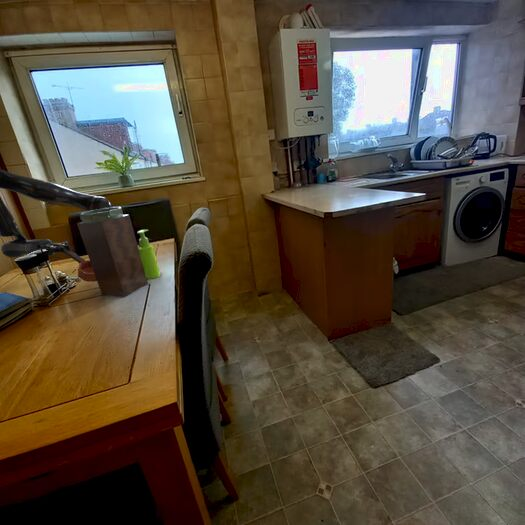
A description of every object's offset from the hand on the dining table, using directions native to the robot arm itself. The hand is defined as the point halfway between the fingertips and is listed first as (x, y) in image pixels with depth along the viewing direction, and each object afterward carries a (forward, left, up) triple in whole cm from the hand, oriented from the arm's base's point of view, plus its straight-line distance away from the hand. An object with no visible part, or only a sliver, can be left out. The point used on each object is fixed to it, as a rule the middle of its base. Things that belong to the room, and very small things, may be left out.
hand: (67, 248), depth 113 cm
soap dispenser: (-5, +31, -16) cm, 35 cm away
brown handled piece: (+1, +3, -8) cm, 9 cm away
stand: (+7, +25, -16) cm, 30 cm away
